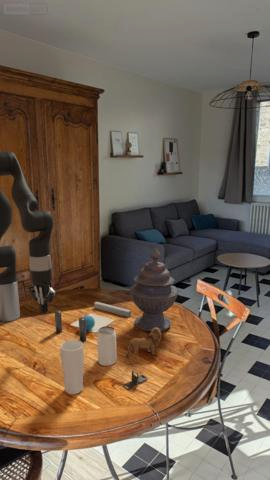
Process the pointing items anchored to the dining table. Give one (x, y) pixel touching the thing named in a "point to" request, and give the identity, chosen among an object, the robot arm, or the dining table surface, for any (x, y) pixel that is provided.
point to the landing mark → (96, 322)
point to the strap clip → (135, 380)
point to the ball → (89, 322)
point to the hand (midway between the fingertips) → (44, 312)
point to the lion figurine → (145, 342)
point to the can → (106, 345)
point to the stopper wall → (112, 309)
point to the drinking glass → (72, 365)
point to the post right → (82, 329)
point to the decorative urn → (153, 294)
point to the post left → (58, 321)
